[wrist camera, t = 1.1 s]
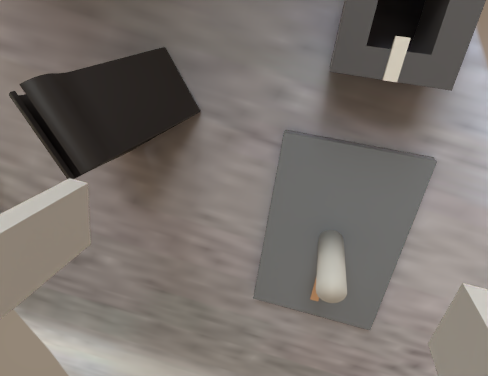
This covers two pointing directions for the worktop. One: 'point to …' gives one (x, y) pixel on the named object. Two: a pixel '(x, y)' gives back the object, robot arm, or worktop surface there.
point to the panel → (338, 225)
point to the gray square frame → (422, 49)
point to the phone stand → (105, 108)
